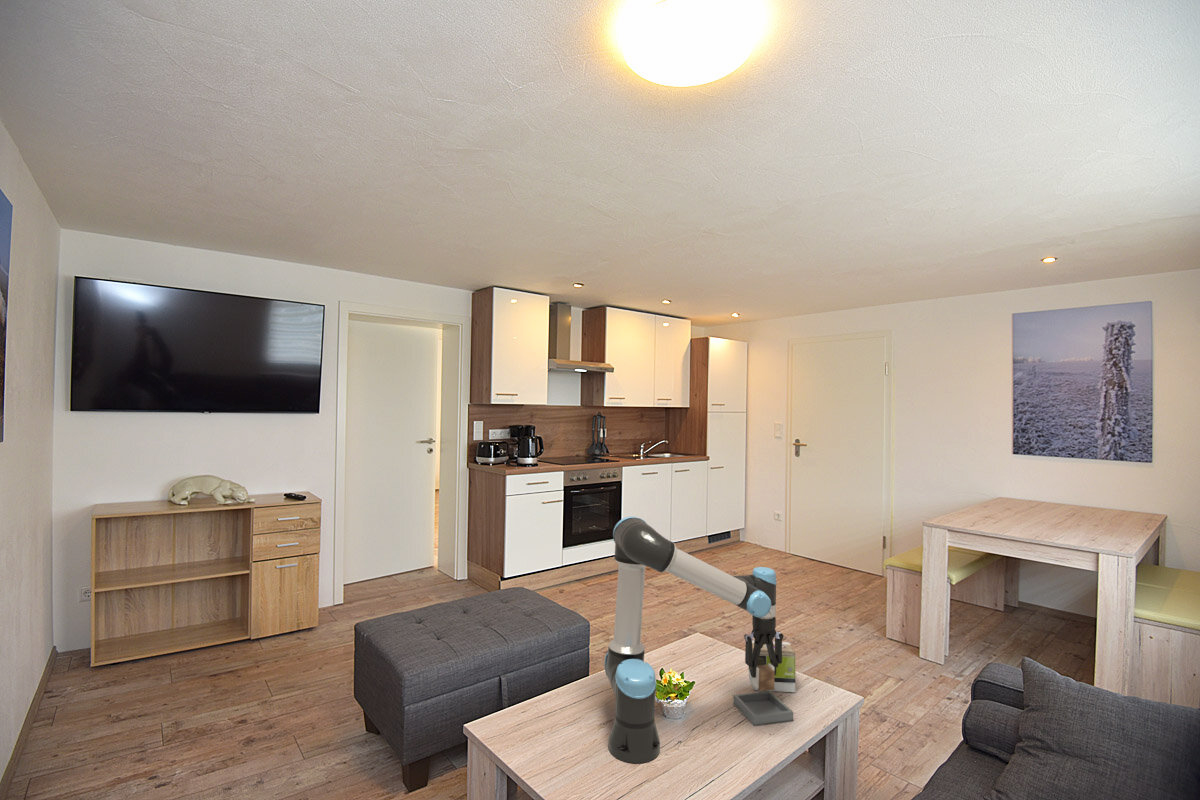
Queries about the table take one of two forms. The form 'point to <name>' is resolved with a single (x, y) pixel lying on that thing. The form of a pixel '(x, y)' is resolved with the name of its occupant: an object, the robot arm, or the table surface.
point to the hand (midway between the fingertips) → (763, 685)
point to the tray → (762, 708)
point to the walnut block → (766, 678)
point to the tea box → (779, 668)
